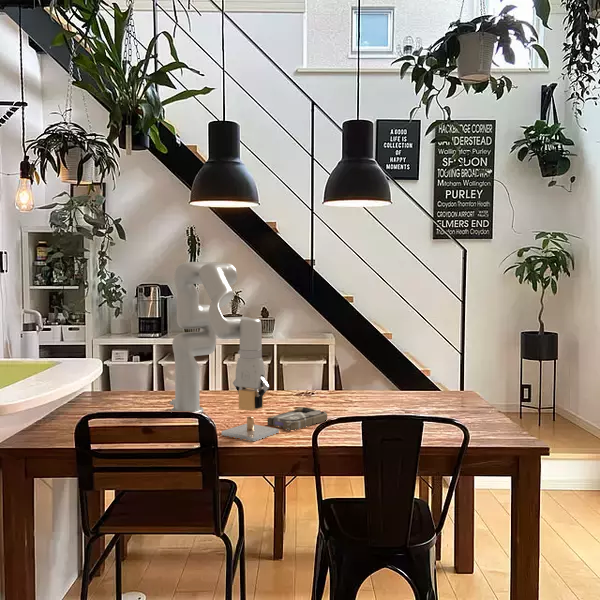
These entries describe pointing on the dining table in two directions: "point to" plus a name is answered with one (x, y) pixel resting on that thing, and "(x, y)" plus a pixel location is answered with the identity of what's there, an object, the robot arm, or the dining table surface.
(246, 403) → the wooden toy block
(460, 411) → the dining table surface
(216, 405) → the dining table surface
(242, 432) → the plate
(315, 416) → the grey flat case
